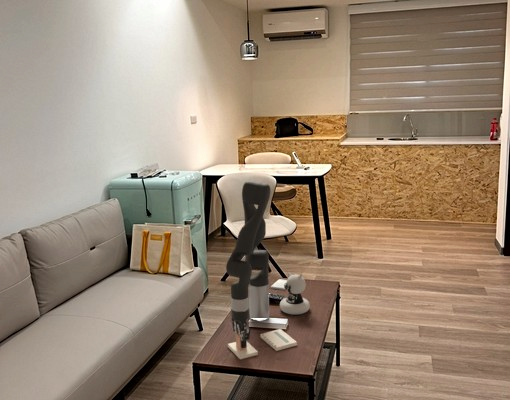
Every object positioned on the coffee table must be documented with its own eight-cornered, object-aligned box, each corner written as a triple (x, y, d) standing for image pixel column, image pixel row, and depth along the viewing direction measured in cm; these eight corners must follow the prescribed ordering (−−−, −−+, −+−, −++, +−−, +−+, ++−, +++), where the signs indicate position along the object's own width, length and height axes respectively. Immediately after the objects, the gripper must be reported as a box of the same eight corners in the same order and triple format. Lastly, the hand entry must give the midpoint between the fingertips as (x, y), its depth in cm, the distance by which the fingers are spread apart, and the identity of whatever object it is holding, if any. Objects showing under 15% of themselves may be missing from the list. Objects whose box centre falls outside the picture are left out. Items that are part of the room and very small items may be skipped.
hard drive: (284, 288, 284) (292, 280, 295) (270, 286, 288) (278, 278, 299) (284, 291, 285) (292, 283, 296) (270, 289, 288) (278, 281, 299)
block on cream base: (227, 346, 225) (227, 330, 223) (244, 342, 228) (244, 326, 227) (240, 359, 214) (239, 342, 213) (257, 354, 218) (257, 338, 216)
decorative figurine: (273, 309, 262) (273, 270, 257) (295, 301, 270) (295, 264, 266) (293, 319, 250) (293, 279, 246) (316, 310, 259) (316, 271, 254)
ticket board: (260, 337, 233) (260, 333, 232) (280, 332, 237) (280, 328, 237) (276, 350, 221) (276, 347, 220) (296, 345, 225) (296, 341, 225)
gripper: (224, 302, 221) (226, 340, 225) (239, 315, 209) (240, 355, 213) (240, 299, 225) (242, 336, 228) (256, 311, 212) (257, 350, 216)
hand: (241, 345), depth 220 cm, fingers closed on block on cream base, 4 cm apart
